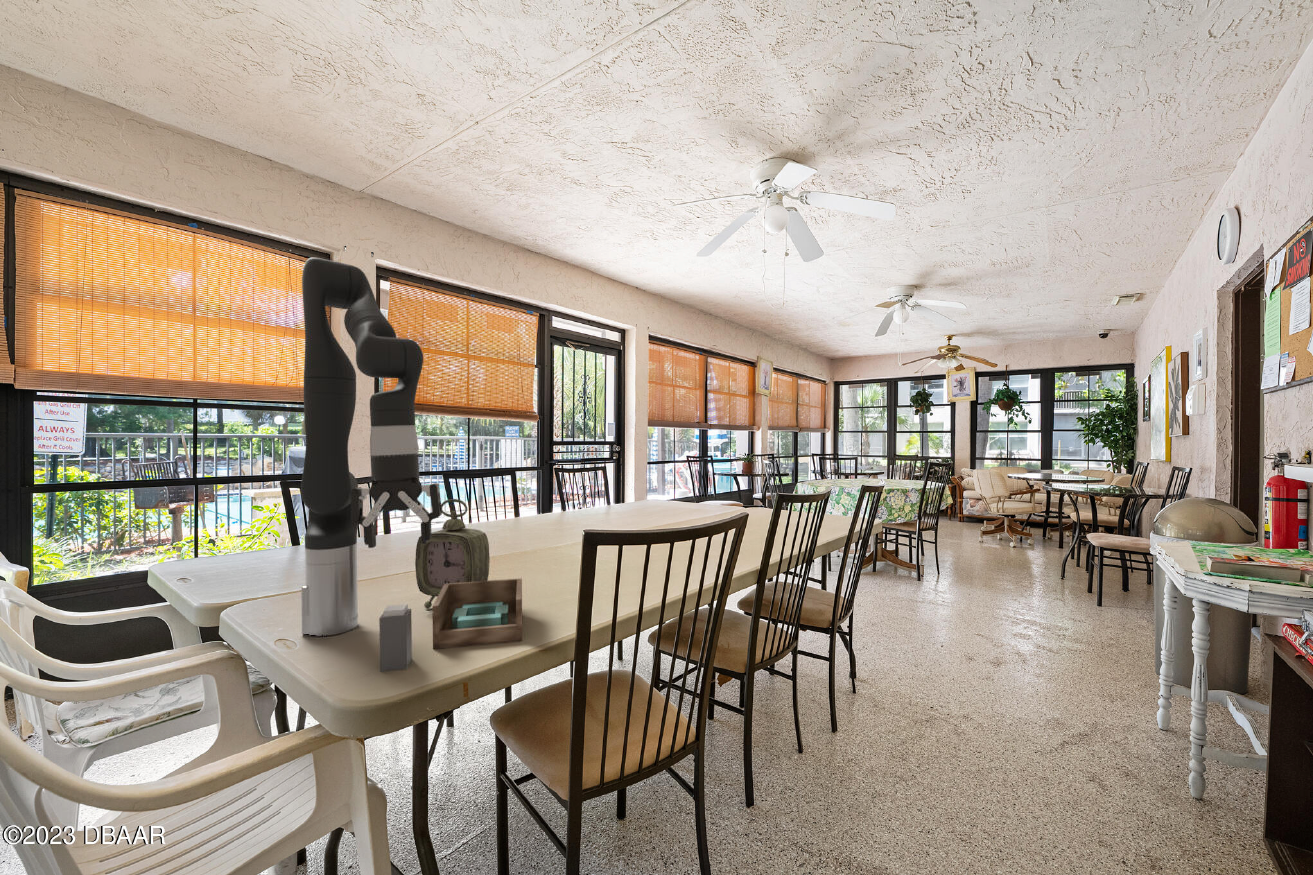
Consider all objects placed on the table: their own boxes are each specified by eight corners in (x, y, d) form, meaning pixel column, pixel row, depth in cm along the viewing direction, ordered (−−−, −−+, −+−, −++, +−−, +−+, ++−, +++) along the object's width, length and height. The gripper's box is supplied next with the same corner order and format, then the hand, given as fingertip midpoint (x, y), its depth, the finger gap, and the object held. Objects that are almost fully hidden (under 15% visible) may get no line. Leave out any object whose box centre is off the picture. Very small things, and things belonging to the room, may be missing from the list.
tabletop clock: (415, 610, 125) (414, 500, 124) (440, 599, 133) (439, 496, 133) (472, 615, 121) (471, 501, 121) (494, 602, 130) (493, 497, 130)
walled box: (432, 649, 102) (432, 606, 102) (445, 620, 117) (444, 583, 117) (521, 640, 105) (521, 599, 105) (522, 614, 121) (521, 578, 121)
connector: (380, 671, 92) (379, 612, 92) (386, 661, 96) (385, 604, 96) (406, 668, 93) (406, 610, 93) (411, 659, 97) (411, 602, 97)
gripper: (342, 455, 90) (347, 553, 91) (434, 451, 93) (438, 546, 94) (356, 453, 98) (361, 544, 98) (441, 449, 101) (445, 537, 101)
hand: (399, 545), depth 96 cm, fingers open, 8 cm apart
